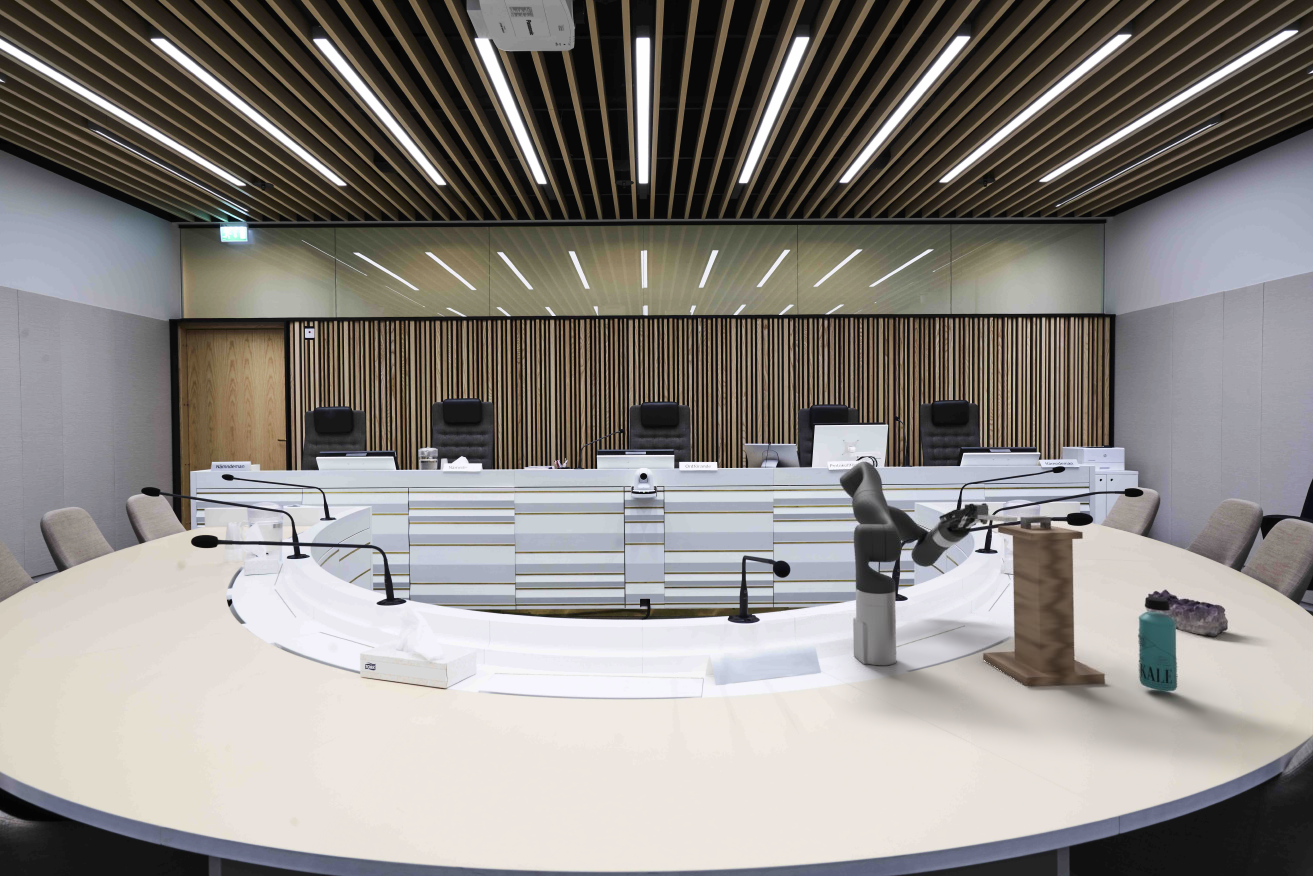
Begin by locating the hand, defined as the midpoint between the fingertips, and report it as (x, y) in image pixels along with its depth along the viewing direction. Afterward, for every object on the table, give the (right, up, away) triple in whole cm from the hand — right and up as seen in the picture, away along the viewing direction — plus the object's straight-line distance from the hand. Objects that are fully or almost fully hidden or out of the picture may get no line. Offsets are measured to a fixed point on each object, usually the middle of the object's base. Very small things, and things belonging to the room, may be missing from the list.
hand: (979, 506), depth 170 cm
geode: (+62, -35, +8) cm, 72 cm away
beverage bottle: (+19, -36, -36) cm, 54 cm away
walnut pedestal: (+2, -36, -23) cm, 43 cm away
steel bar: (0, -3, -6) cm, 6 cm away
